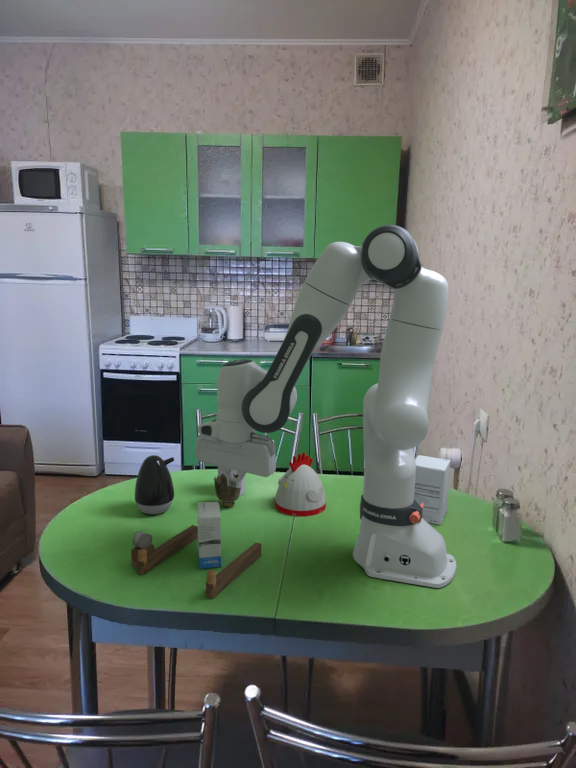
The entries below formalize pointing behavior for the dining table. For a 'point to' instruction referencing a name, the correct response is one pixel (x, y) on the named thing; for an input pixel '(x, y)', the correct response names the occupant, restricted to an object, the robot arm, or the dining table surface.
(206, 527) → the ink box
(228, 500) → the cup
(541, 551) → the dining table surface
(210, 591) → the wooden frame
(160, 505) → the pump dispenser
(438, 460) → the supplement box
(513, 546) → the dining table surface
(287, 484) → the kitchen timer
